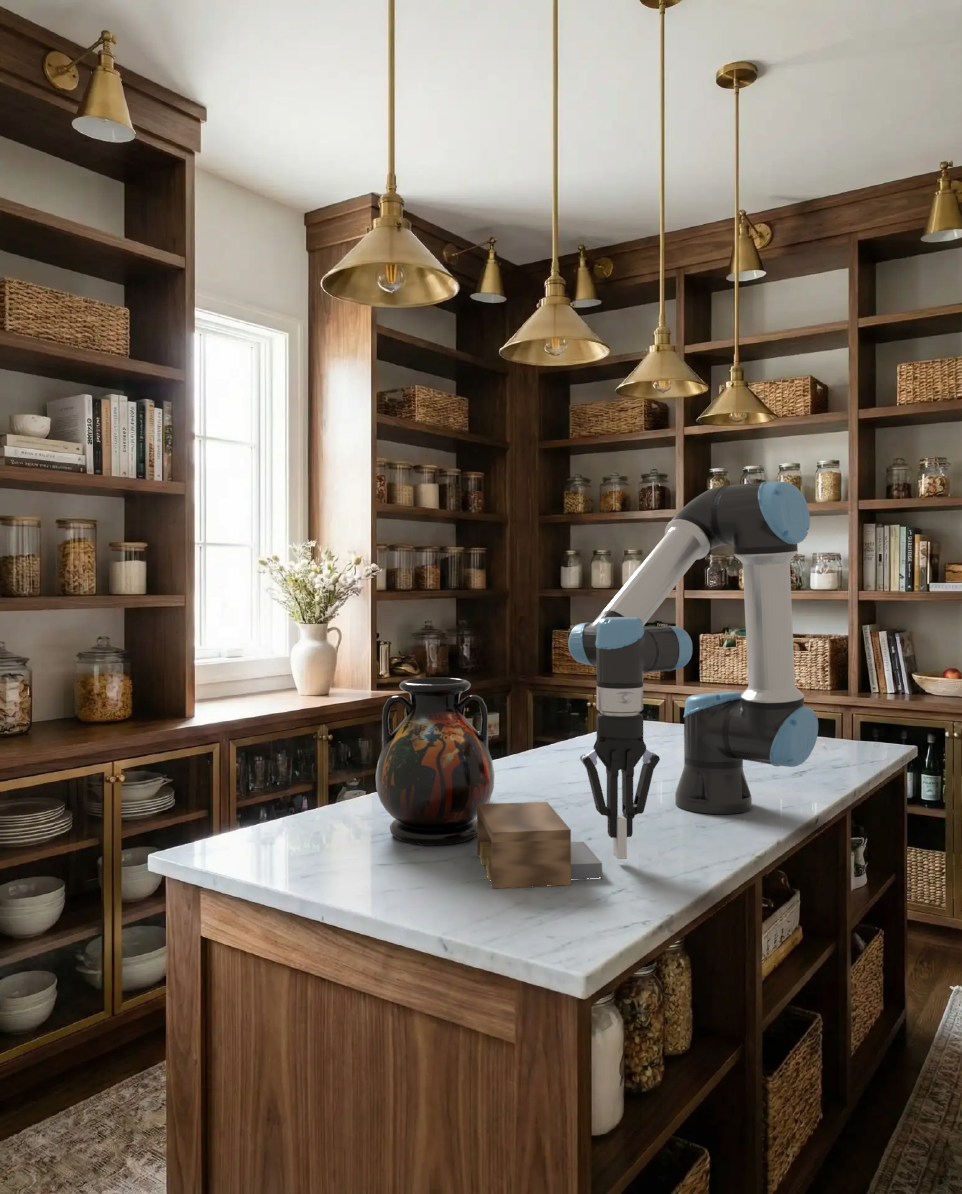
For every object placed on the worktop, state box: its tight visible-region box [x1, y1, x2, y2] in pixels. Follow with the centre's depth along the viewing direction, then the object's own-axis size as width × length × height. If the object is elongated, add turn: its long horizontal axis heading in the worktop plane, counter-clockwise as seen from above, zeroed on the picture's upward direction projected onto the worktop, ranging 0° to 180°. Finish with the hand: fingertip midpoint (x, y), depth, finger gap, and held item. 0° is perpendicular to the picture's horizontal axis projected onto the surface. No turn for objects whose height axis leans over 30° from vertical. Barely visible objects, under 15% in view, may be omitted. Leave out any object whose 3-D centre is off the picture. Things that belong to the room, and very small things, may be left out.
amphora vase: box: [375, 677, 495, 846], centre depth 174 cm, size 22×22×28 cm
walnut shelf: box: [476, 801, 572, 889], centre depth 154 cm, size 12×18×8 cm, turn 8°
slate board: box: [571, 841, 603, 879], centre depth 154 cm, size 16×12×3 cm
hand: (620, 856), depth 156 cm, fingers closed
